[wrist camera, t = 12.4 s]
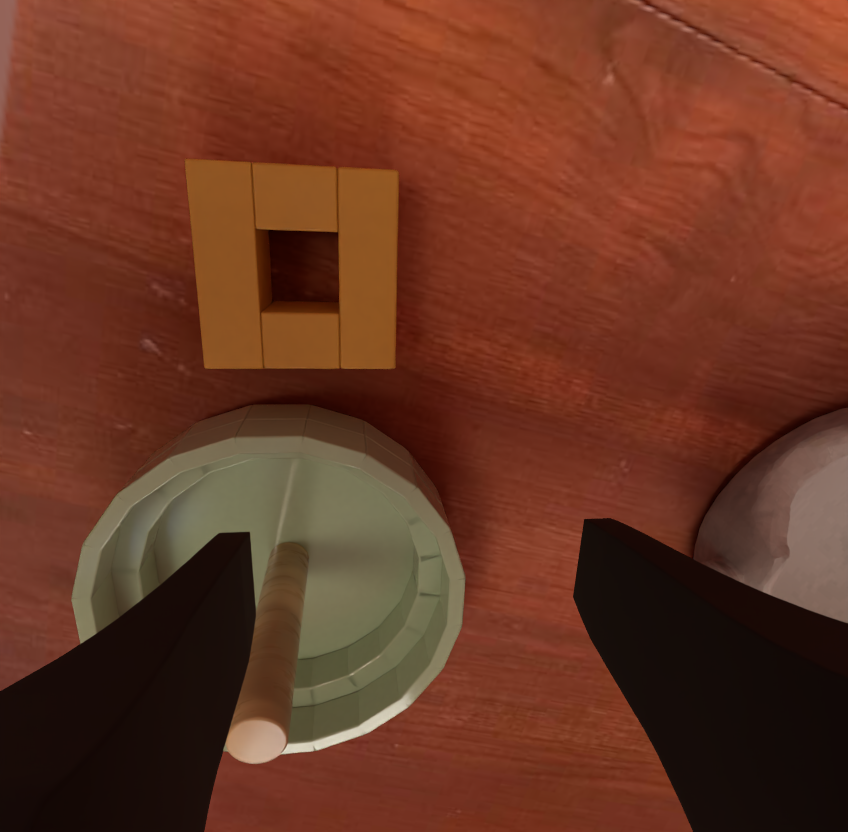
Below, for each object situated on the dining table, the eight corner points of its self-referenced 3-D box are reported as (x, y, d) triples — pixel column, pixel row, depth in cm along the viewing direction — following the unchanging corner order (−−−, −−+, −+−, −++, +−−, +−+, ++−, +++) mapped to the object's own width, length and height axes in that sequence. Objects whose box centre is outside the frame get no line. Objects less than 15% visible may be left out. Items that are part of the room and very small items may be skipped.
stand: (224, 349, 20) (204, 368, 17) (209, 169, 18) (183, 158, 15) (388, 350, 21) (395, 369, 18) (391, 179, 19) (399, 169, 16)
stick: (270, 576, 22) (227, 768, 14) (268, 542, 22) (222, 721, 14) (309, 574, 22) (289, 762, 15) (308, 540, 22) (286, 715, 14)
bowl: (143, 686, 24) (105, 771, 20) (97, 400, 20) (38, 439, 16) (439, 665, 26) (454, 739, 22) (453, 398, 22) (476, 433, 18)
